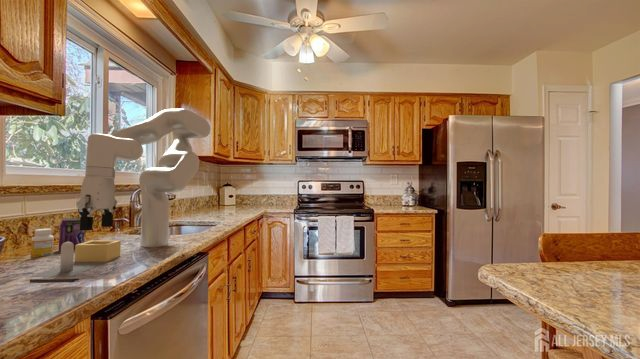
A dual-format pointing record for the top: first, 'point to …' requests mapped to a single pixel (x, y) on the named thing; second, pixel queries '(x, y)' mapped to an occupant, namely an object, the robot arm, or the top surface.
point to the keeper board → (67, 274)
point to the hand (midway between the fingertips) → (97, 228)
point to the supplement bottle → (42, 243)
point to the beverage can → (71, 232)
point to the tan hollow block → (97, 251)
